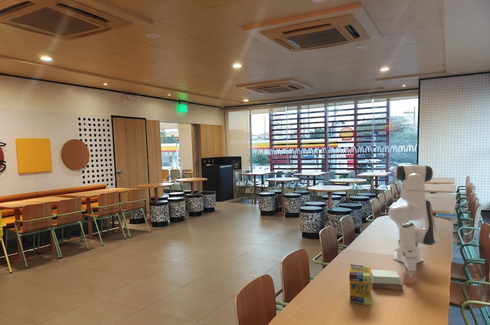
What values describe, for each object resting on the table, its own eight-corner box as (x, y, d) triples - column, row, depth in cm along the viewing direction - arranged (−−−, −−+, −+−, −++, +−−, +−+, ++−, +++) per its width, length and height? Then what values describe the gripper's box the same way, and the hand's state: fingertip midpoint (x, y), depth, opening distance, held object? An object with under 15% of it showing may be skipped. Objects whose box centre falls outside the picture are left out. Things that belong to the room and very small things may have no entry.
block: (401, 279, 196) (401, 270, 196) (411, 280, 195) (410, 270, 194) (403, 283, 191) (403, 273, 191) (412, 283, 190) (412, 273, 190)
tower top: (371, 276, 195) (370, 269, 195) (396, 277, 192) (396, 270, 192) (373, 283, 185) (373, 276, 185) (400, 284, 182) (399, 277, 182)
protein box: (349, 303, 170) (349, 274, 170) (351, 290, 185) (350, 263, 184) (371, 305, 167) (370, 276, 166) (370, 292, 181) (370, 265, 180)
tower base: (370, 281, 197) (369, 274, 197) (398, 283, 193) (398, 276, 192) (372, 289, 186) (371, 283, 185) (402, 292, 181) (402, 285, 181)
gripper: (398, 245, 202) (399, 267, 203) (405, 255, 183) (406, 279, 183) (409, 245, 201) (410, 267, 201) (418, 255, 181) (419, 280, 181)
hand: (408, 273), depth 192 cm, fingers open, 8 cm apart
